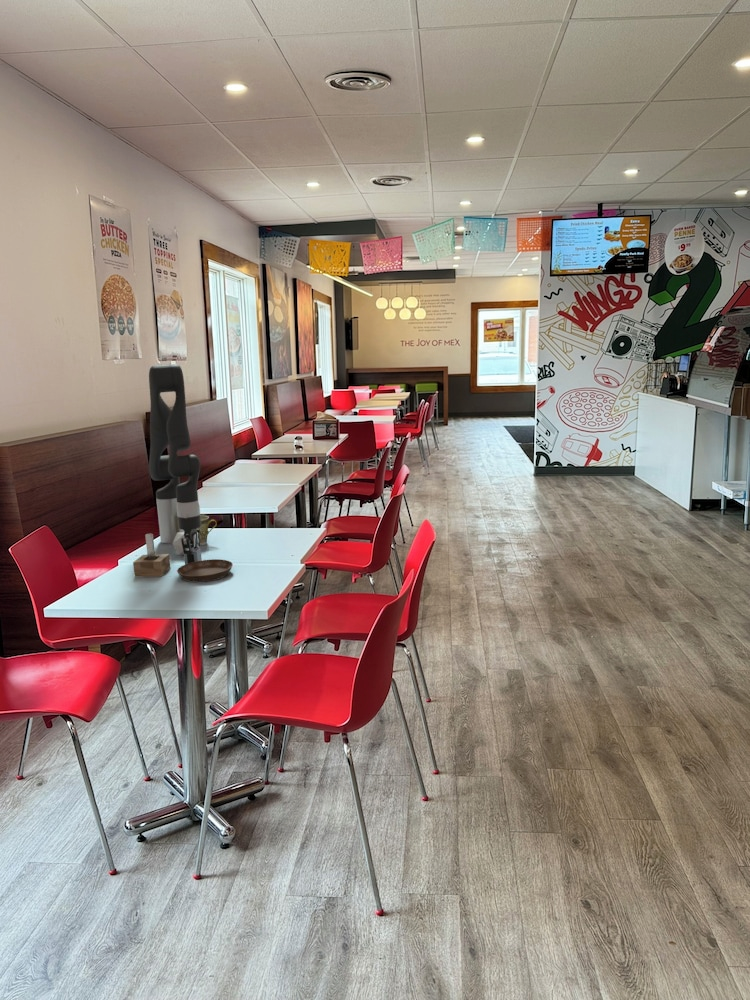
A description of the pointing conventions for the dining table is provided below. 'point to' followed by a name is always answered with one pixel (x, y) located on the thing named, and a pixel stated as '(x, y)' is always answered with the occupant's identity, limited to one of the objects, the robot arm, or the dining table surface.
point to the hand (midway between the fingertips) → (193, 562)
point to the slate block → (196, 555)
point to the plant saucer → (205, 570)
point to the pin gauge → (150, 546)
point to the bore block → (151, 566)
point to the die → (178, 543)
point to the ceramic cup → (204, 529)
